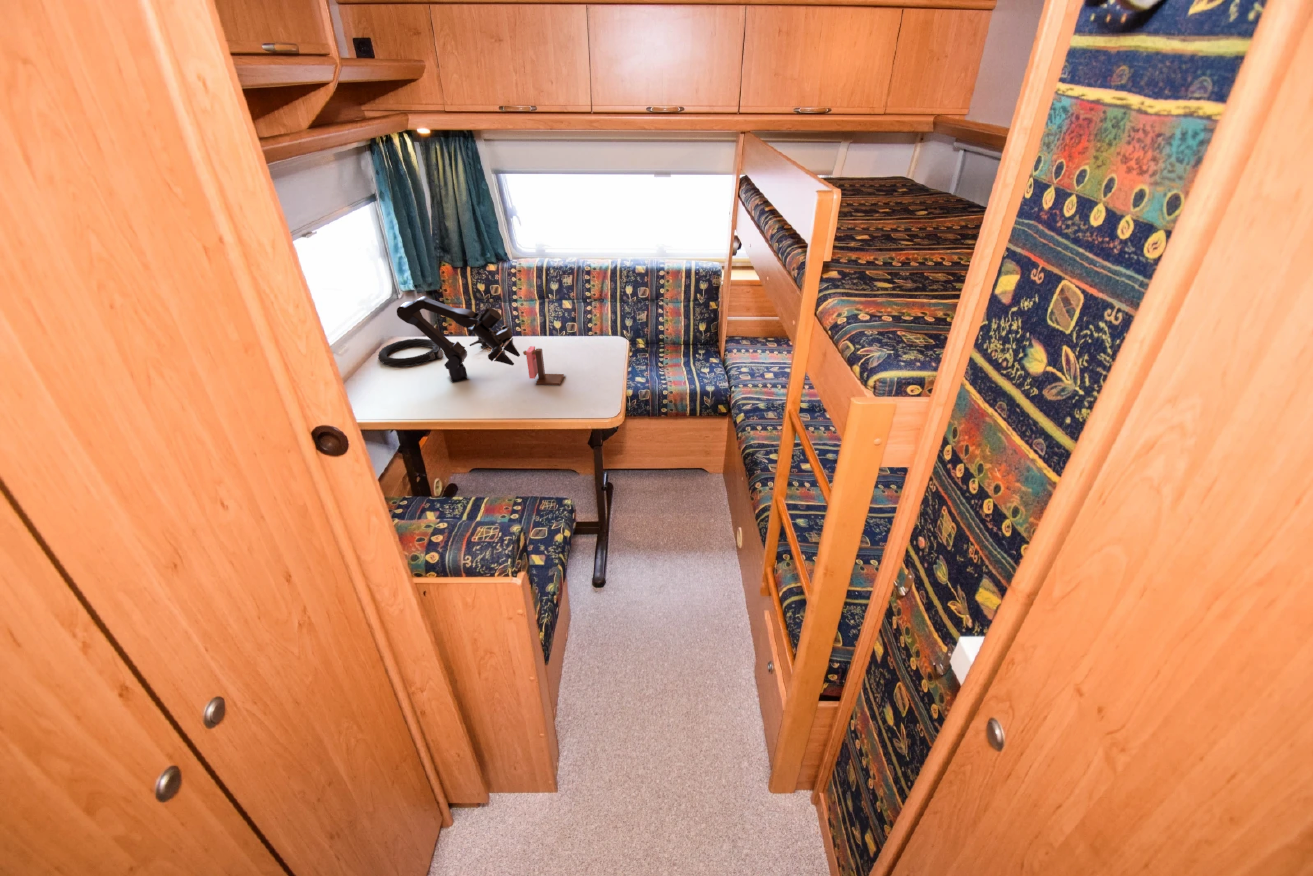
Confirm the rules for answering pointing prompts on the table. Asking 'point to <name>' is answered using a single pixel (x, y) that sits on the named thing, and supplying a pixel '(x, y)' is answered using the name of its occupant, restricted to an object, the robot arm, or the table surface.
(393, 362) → the ring
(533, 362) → the pink tunnel block
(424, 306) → the robot arm
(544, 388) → the table surface
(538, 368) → the stand
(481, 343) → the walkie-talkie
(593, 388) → the table surface
